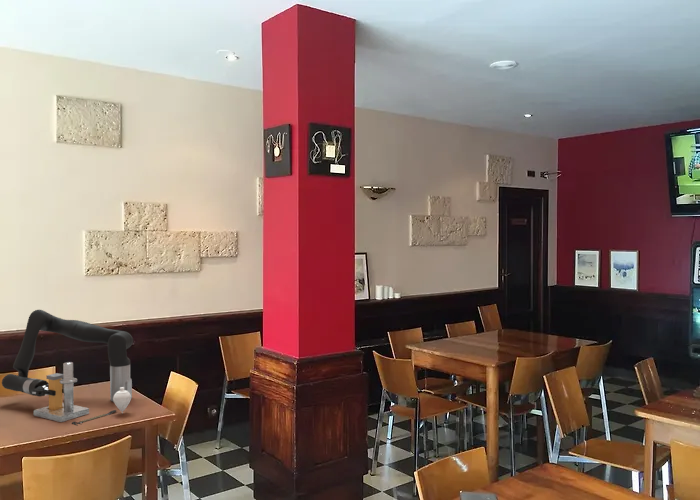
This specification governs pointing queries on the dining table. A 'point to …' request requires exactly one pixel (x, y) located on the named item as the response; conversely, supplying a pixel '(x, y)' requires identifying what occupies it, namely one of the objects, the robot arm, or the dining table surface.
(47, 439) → the dining table surface
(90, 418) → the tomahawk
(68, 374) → the grey peg stand
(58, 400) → the yellow lidded box
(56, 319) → the robot arm
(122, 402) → the spinning top
